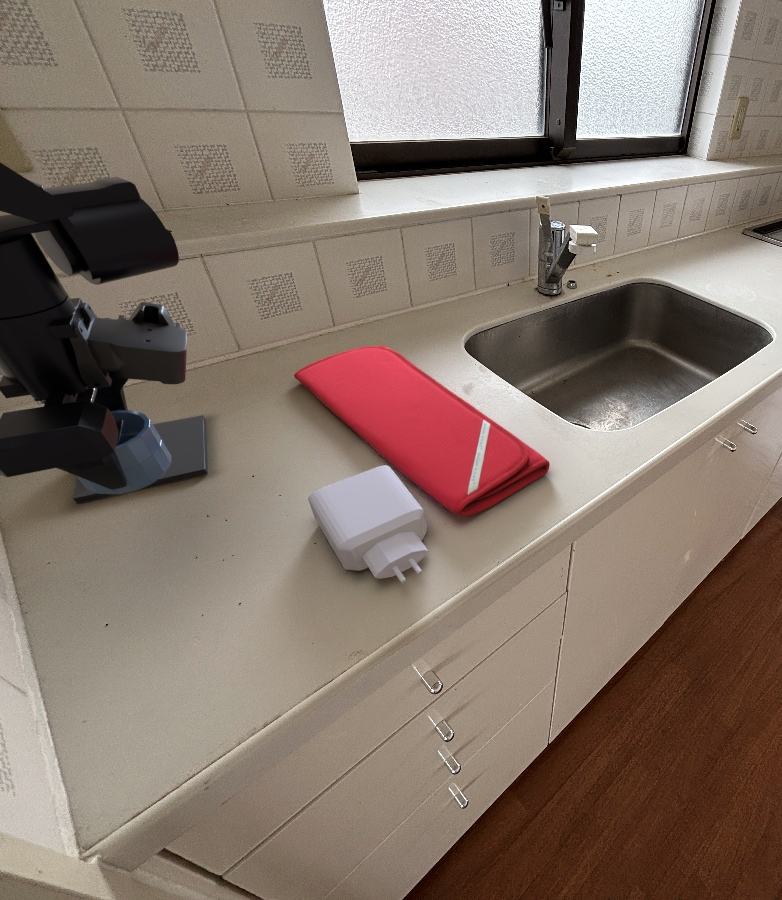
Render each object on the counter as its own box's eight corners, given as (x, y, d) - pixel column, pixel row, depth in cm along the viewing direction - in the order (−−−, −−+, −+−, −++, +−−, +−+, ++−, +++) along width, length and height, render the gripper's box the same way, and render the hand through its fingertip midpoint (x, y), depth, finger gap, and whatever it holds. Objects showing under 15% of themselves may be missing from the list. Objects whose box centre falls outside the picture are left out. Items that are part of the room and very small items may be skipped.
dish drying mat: (388, 353, 87) (385, 333, 84) (552, 471, 68) (554, 450, 66) (295, 383, 77) (288, 362, 75) (456, 531, 58) (454, 509, 56)
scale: (70, 505, 55) (57, 489, 53) (84, 442, 62) (73, 427, 61) (207, 474, 61) (199, 459, 59) (206, 420, 68) (198, 405, 66)
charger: (370, 615, 49) (316, 522, 57) (455, 569, 54) (394, 490, 62) (361, 587, 46) (305, 493, 54) (451, 541, 51) (389, 462, 59)
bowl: (80, 506, 43) (45, 463, 40) (91, 461, 47) (60, 419, 44) (172, 485, 46) (146, 444, 43) (175, 444, 50) (152, 404, 47)
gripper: (146, 345, 33) (231, 505, 43) (162, 250, 45) (226, 393, 55) (-101, 375, 28) (59, 548, 38) (-11, 259, 40) (94, 415, 50)
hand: (123, 463), depth 45 cm, fingers closed on bowl, 6 cm apart
